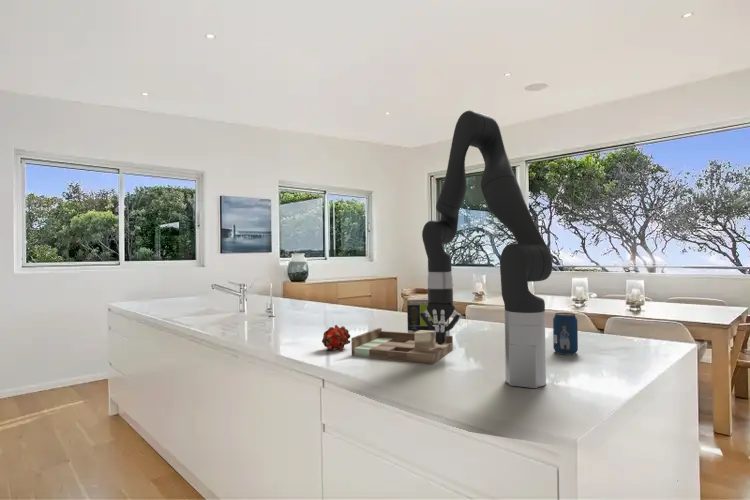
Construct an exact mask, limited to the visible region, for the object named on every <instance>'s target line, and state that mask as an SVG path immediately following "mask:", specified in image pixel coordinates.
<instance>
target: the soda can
mask: <svg viewBox="0 0 750 500" xmlns="http://www.w3.org/2000/svg"><path fill="white" fill-rule="evenodd" d="M552 323H553V324H552V325H553V326H552V330H553V331H552V332H553V337H552V339H553V340H552V342H553V350H554V352H555V353H556V354H558V355H563V354H565V355H564V356H566V355H567V356H573V355H572V354H574V355H576V354H577V352H578V350H579V347H578V346H579V344H578V343H579V342H578V341H579V339H578V338H579V336H578V334H579V332H578V319H577V317H576V314H575V313H573V312H556V313H554V317H553V319H552Z"/></svg>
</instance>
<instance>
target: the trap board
mask: <svg viewBox="0 0 750 500" xmlns="http://www.w3.org/2000/svg"><path fill="white" fill-rule="evenodd" d="M453 337H454V336H453V335H450V336H446V342H445V343H444V344H443V345H438V343H437V342H436V335H435V343H436V346H434V347H433V348H431V349H425V348H415V335H414V333H408V332H401V331H386V330H382V327H378V328H374V329H373V330H369V331H367V332H364V333H362V334H359V335H356V336H353V337H350V339H351V340H350V343H351V357H357V358H358V357H359V358H368V359H379V360H387V361H388V360H390V361H397V362H399V361H400V362H409V363H410V362H411V363H419V364H429V365H430V364H431V365H434V364H436V363H437V362H439V360H441V359H442V358H443V357H445V356H447V355H448V354H449V353H451V352H452V351H453V350H454V348H453V346H454V345H453V340H454V339H453Z"/></svg>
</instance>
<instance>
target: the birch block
mask: <svg viewBox="0 0 750 500" xmlns="http://www.w3.org/2000/svg"><path fill="white" fill-rule="evenodd" d="M414 335H415V348H425V349H431V348H433V347H434V346H436V343H435V331H424V330H419V331H417V332H415V333H414Z"/></svg>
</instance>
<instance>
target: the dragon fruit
mask: <svg viewBox="0 0 750 500" xmlns="http://www.w3.org/2000/svg"><path fill="white" fill-rule="evenodd" d="M322 336H323V337H322V340H321V343H322V344H323V345H324V347H326V348H327V349H326V351H327V352H333V351H335V350H337V349H338V350H339V351H342V350H343V349H344V348H345V345H349V344H350V343H351V340H349V339H351V334H350V333H349V329H348V328H346V327H345V326H344V325H342V326H341V327H339V326H338V325H337V324H335V325H334V327H333V326H331V327H329V328H328V329H327V330H326V331H324V333H323V335H322Z"/></svg>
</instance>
